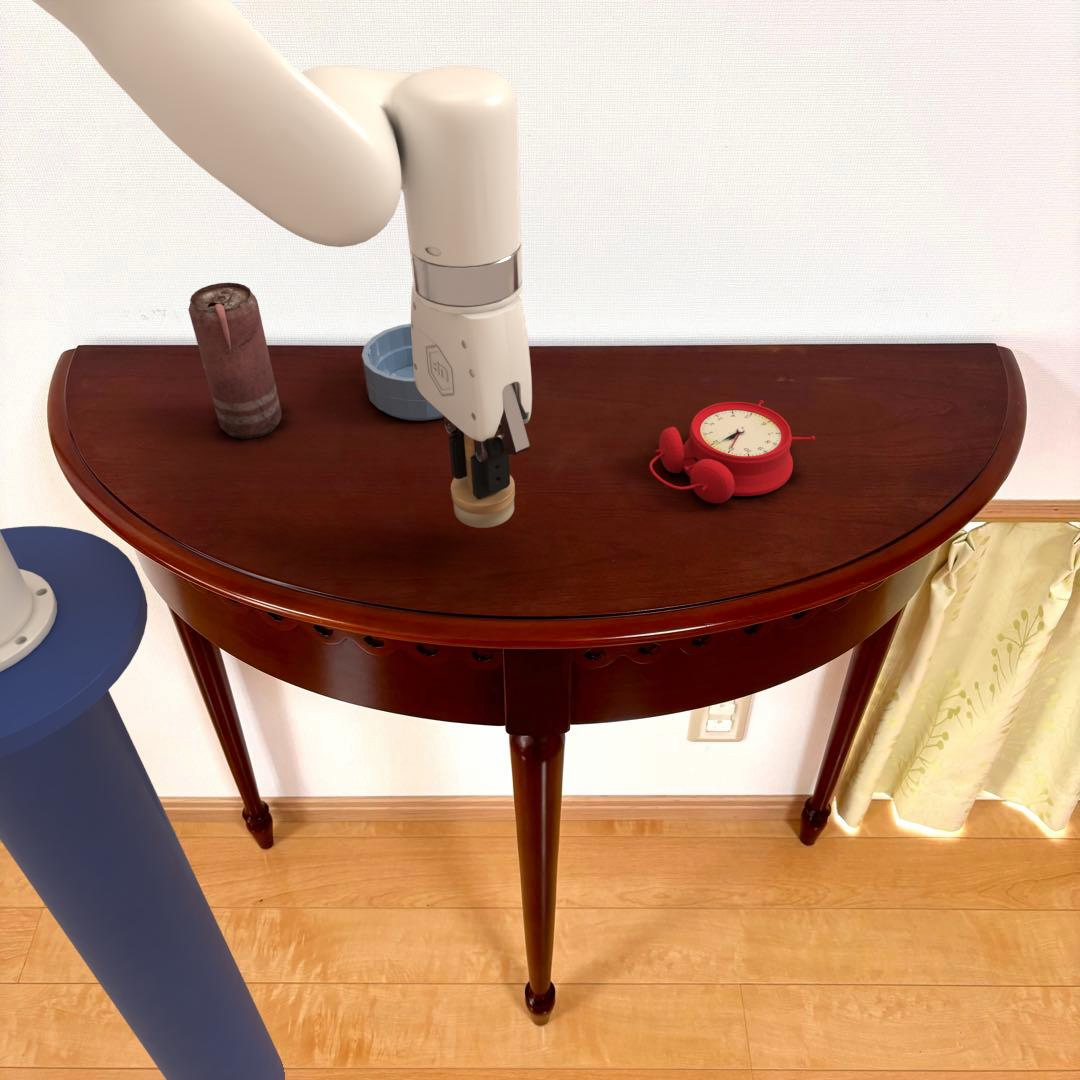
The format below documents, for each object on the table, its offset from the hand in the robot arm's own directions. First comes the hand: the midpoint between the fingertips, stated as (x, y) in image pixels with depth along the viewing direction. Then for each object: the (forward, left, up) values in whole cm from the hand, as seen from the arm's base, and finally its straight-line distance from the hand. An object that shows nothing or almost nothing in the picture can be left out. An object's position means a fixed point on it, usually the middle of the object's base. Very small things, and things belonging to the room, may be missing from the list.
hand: (481, 480), depth 78 cm
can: (-9, +29, -7) cm, 31 cm away
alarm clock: (+24, -4, -7) cm, 25 cm away
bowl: (+8, +24, -7) cm, 26 cm away
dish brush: (0, 0, -3) cm, 3 cm away
